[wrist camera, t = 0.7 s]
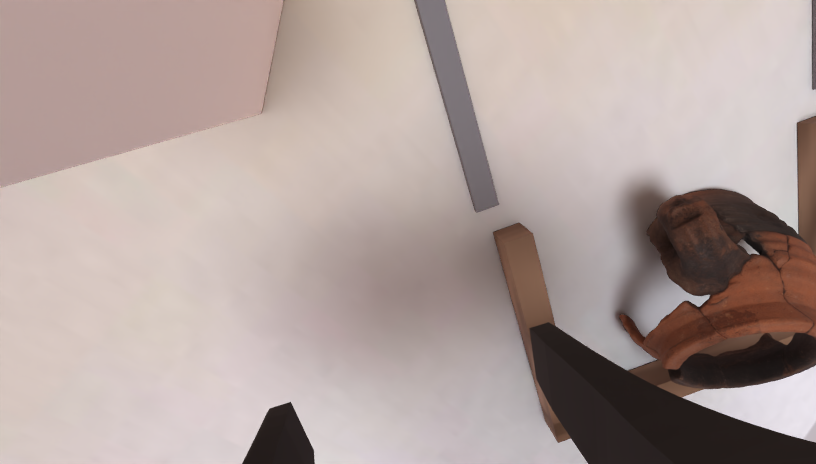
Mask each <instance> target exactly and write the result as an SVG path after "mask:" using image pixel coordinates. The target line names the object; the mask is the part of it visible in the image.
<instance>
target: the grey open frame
mask: <svg viewBox="0 0 816 464" xmlns="http://www.w3.org/2000/svg"><path fill="white" fill-rule="evenodd" d="M414 1H415V4H416V8H417V11H418V15H419V18H420V22H421V25H422V29H423V32H424V36H425V39H426V42H427V46H428V49H429V53H430V56H431V60H432V63H433V67H434V70H435V74H436V77H437V81H438V84H439V88H440V91H441V95H442V98H443V101H444V105H445V108H446V112H447V115H448V119H449V122H450V126H451V129H452V133H453V136H454V140H455V143H456V147H457V150H458V154H459V157H460V160H461V164H462V167H463V171H464V174H465V178H466V181H467V185H468V188H469V192H470V195H471V199H472V202H473V206H474V209H475V211H476V212H480V211H483V210H486V209H488V208H491V207H494V206H497V205H499V203H498V199H497V195H496V191H495V188H494V184H493V180H492V176H491V173H490V169H489V165H488V161H487V158H486V154H485V150H484V146H483V143H482V139H481V135H480V131H479V128H478V124H477V120H476V116H475V112H474V109H473V105H472V101H471V97H470V94H469V90H468V86H467V82H466V79H465V75H464V71H463V67H462V64H461V60H460V56H459V52H458V49H457V45H456V41H455V37H454V34H453V30H452V26H451V22H450V19H449V15H448V11H447V7H446V4H445V0H414ZM813 89H816V0H813Z"/></svg>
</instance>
